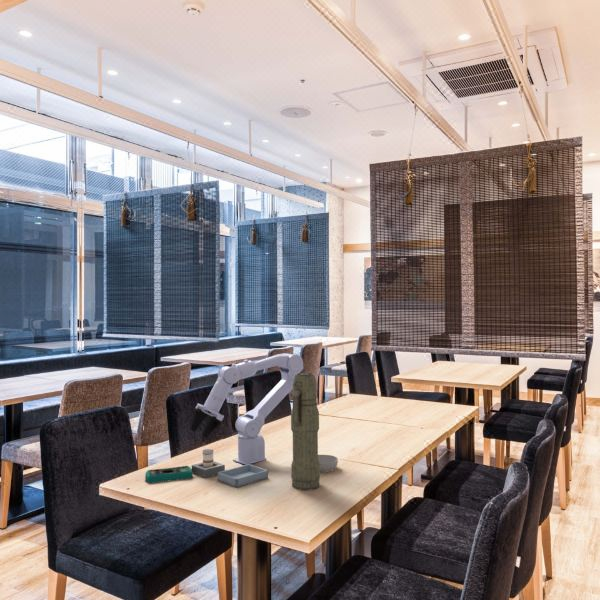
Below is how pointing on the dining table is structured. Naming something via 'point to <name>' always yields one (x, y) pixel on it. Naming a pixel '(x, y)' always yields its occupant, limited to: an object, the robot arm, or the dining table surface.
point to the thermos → (305, 433)
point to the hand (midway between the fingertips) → (198, 433)
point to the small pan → (327, 462)
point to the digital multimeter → (168, 474)
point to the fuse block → (207, 469)
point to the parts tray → (242, 475)
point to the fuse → (208, 458)
